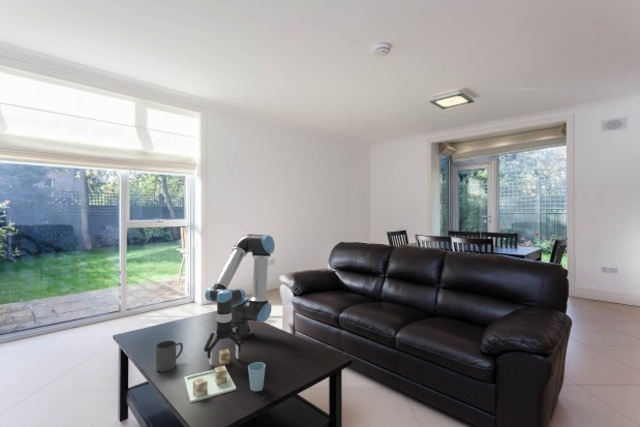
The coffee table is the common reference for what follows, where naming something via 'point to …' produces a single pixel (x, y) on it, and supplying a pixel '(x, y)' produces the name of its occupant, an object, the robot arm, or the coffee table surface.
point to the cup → (256, 375)
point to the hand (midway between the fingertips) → (224, 360)
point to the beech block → (220, 375)
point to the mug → (167, 355)
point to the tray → (212, 386)
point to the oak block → (224, 356)
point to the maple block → (200, 387)
